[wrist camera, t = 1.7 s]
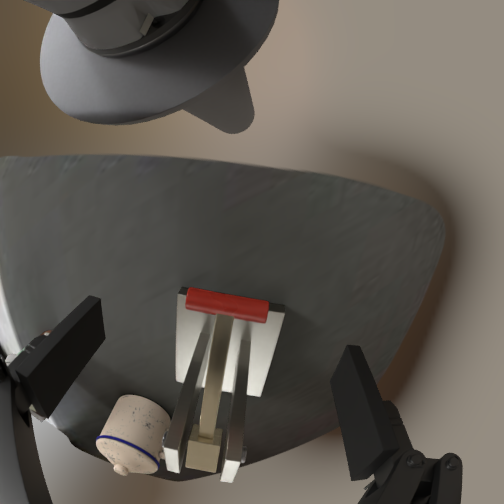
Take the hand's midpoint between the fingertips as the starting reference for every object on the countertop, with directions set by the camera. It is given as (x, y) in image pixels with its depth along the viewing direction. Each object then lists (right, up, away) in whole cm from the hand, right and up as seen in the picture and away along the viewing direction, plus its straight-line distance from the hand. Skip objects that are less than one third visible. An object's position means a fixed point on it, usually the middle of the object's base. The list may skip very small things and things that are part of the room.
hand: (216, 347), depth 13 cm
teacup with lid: (-13, -19, +21) cm, 31 cm away
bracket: (-1, -5, +15) cm, 16 cm away
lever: (-1, -4, +4) cm, 6 cm away
